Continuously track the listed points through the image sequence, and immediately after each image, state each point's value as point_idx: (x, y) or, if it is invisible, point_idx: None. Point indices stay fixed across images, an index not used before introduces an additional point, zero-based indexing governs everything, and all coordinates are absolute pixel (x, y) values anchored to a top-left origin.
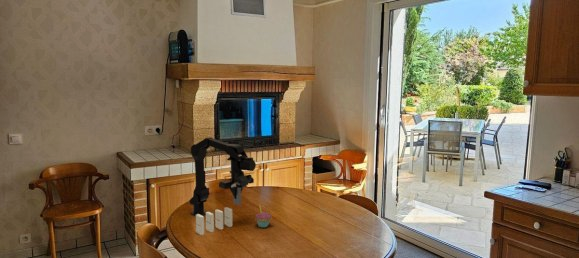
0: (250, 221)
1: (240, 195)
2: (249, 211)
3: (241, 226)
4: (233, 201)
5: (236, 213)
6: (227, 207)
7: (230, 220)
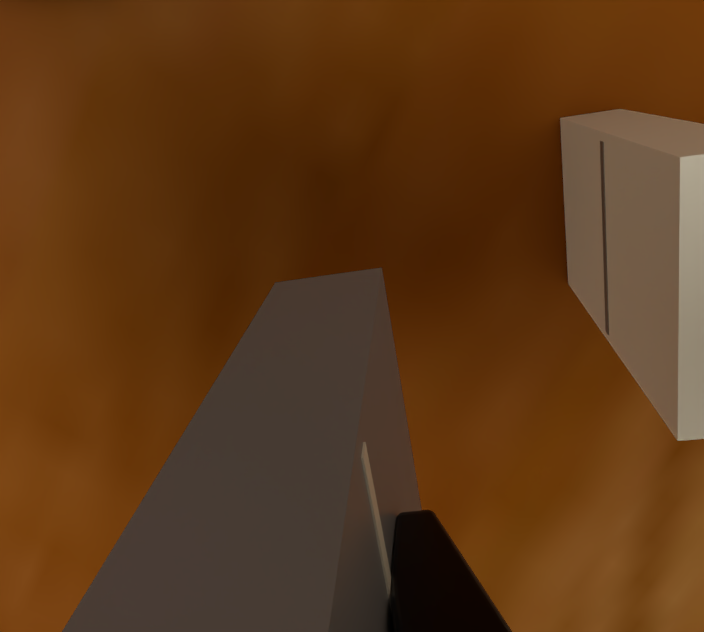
0: (163, 171)
1: (191, 475)
2: (19, 556)
3: (416, 21)
4: None
5: None
6: (681, 414)
7: (642, 119)
